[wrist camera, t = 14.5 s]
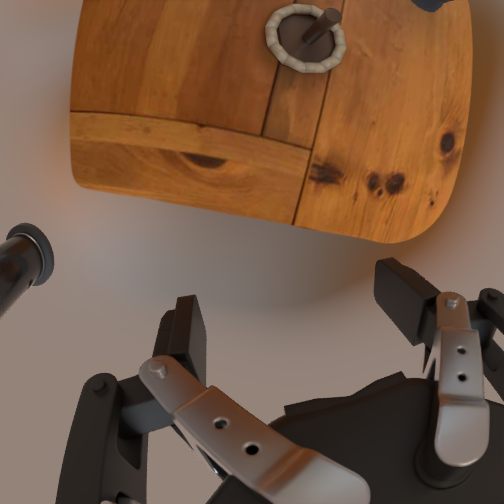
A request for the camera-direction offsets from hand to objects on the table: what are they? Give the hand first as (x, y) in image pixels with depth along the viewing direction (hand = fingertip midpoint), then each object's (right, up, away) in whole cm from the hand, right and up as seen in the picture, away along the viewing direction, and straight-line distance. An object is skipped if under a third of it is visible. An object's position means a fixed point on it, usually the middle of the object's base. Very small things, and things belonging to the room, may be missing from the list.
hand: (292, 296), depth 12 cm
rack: (+6, +31, +19) cm, 37 cm away
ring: (+6, +30, +17) cm, 35 cm away
